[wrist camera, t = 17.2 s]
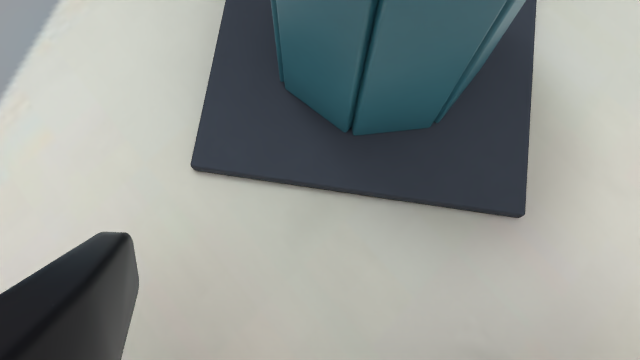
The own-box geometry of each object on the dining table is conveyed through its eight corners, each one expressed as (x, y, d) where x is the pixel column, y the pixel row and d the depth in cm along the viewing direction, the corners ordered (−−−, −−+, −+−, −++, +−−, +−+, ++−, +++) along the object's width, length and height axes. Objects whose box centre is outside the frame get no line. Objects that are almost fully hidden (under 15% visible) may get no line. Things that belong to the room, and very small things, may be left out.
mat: (193, 170, 17) (189, 165, 17) (250, -102, 20) (249, -112, 19) (519, 218, 17) (525, 215, 16) (535, -62, 20) (541, -72, 19)
